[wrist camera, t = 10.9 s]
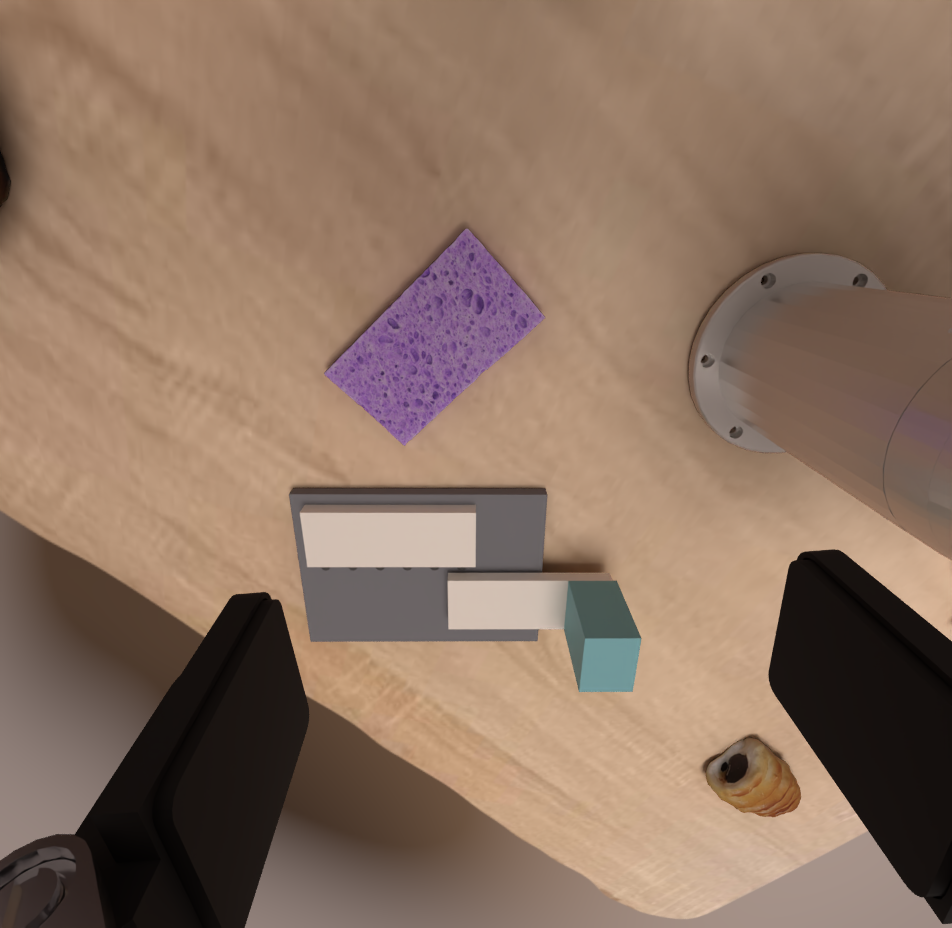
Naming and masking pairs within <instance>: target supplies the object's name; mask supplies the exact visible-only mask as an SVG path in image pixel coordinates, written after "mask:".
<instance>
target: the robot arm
mask: <svg viewBox="0 0 952 928" xmlns="http://www.w3.org/2000/svg"><path fill="white" fill-rule="evenodd" d="M763 276H764V281H763V283H762V284H761V279H762V277H763ZM704 355H705V356H706V358H705V360H704V361H701V359H702V357H703V356H704ZM689 385H690V391H691V396H692V399H693V402H694V404H695V406H696V409H697V411H698V413H699V414H700V416H701V417H702V419H703V420H704V421H705V423H706V424H707V425H708V426H709V427H710V428H711V429H712V430H713V431H714V432H716V433H717V434H718V435H719V436H720V437H722V438H723V439H725V440H726V441H727V442H729V443H731V444H733V445H735V446H738V447H740V448H743V449H745V450H749V451H755V452H760V453H783V452H788V453H789V454H791V455H792V456H794V457H795V458H797V459H798V460H800V461H801V462H803V463H804V464H806V465H807V466H809V467H810V468H812V469H813V470H815V471H816V472H818V473H819V474H821V475H822V476H824V477H825V478H827V479H828V480H830V481H831V482H833V483H834V484H835V485H837V486H838V487H840V488H841V489H843V490H844V491H846V492H847V493H849V494H850V495H852V496H853V497H855V498H856V499H858V500H859V501H861V502H862V503H864V504H865V505H867V506H868V507H870V508H871V509H873V510H874V511H876V512H877V513H879V514H880V515H881V516H883V517H884V518H886V519H887V520H889V521H891V522H892V523H893V524H895V525H896V526H898V527H899V528H901V529H903V530H904V531H906V532H907V533H909V534H910V535H912V536H913V537H915V538H917V539H918V540H920V541H921V542H923V543H924V544H926V545H927V546H929V547H930V548H932V549H933V550H935V551H936V552H938V553H939V554H941V555H943V556H945V557H946V558H948V559H950V560H952V298H946V297H938V296H930V295H921V294H913V293H905V292H897V291H889V290H887V289H886V287H885V285H884V284H883V283H882V282H881V281H880V279H879V278H878V277H877V276H876V275H875V274H874V273H873V272H872V271H871V270H869V269H868V268H866V267H865V266H863V265H862V264H860V263H859V262H857V261H854V260H851V259H848V258H845V257H843V256H840V255H831V254H822V253H801V254H796V255H791V256H786V257H781V258H779V259H776V260H773V261H771V262H768V263H766V264H763V265H761V266H759V267H757V268H756V269H754V270H752V271H751V272H749V273H747V274H746V275H744V276H743V277H741V278H740V279H739V280H738V281H737V282H735V283H734V284H733V285H732V286H731V287H729V288H728V289H727V290H726V291H725V292H724V293H723V294H722V296H721V297H720V298H719V299H718V300H717V301H716V303H715V304H714V305H713V306H712V307H711V309H710V310H709V312H708V314H707V315H706V317H705V319H704V320H703V322H702V323H701V325H700V328H699V330H698V333H697V335H696V337H695V340H694V342H693V346H692V351H691V355H690V360H689ZM732 428H733V429H732ZM731 429H732V430H731ZM730 430H731V431H730ZM769 682H770V686H771V688H772V691H773V692H774V694H775V696H776V697H777V699H778V700H779V701H780V703H781V704H782V706H783V707H784V709H785V710H786V712H787V713H788V715H789V716H790V717H791V719H792V720H793V722H794V723H795V725H796V726H797V728H798V729H799V731H800V732H801V733H802V735H803V736H804V738H805V739H806V741H807V742H808V744H809V745H810V747H811V748H812V749H813V751H814V752H815V754H816V755H817V757H818V758H819V760H820V761H821V763H822V764H823V765H824V767H825V768H826V770H827V771H828V773H829V774H830V776H831V777H832V779H833V780H834V781H835V783H836V784H837V786H838V787H839V789H840V790H841V792H842V793H843V795H844V796H845V797H846V799H847V800H848V802H849V803H850V805H851V806H852V808H853V809H854V811H855V812H856V813H857V815H858V816H859V818H860V819H861V821H862V822H863V824H864V825H865V827H866V828H867V829H868V831H869V832H870V834H871V835H872V836H873V838H874V840H875V841H876V842H877V844H878V845H879V847H880V848H881V850H882V851H883V853H884V854H885V855H886V857H887V858H888V860H889V861H890V863H891V864H892V866H893V867H894V868H895V870H896V872H897V873H898V874H899V876H900V877H901V879H902V880H903V882H904V883H905V884H906V885H907V887H908V888H909V889H910V890H911V891H912V892H913V893H914V894H915V895H917V896H919V897H924V898H925V899H926V901H927V903H928V904H929V905H930V907H931V908H932V909H933V911H934V913H935V914H936V915H937V917H938V918H939V920H940V921H941V923H942V924H950V923H952V641H951V640H949V639H948V638H947V637H946V636H944V635H943V634H942V633H941V632H940V631H938V630H937V629H936V628H935V627H933V626H932V625H931V624H930V623H929V622H927V621H926V620H925V619H924V618H922V617H921V616H920V615H919V614H918V613H916V612H915V611H914V610H913V609H912V608H910V607H909V606H908V605H907V604H905V603H904V602H903V601H902V600H901V599H899V598H898V597H897V596H896V595H894V594H893V593H892V592H891V591H890V590H888V589H887V588H886V587H885V586H883V585H882V584H881V583H880V582H879V581H877V580H876V579H875V578H874V577H873V576H871V575H870V574H869V573H868V572H866V571H865V570H864V569H863V568H862V567H860V566H859V565H858V564H857V563H855V562H854V561H853V560H852V559H851V558H849V557H848V556H847V555H846V554H844V553H843V552H841V551H840V550H821V551H808V552H803V553H801V554H800V555H799V556H798V558H797V560H796V561H793V562H791V564H790V566H789V569H788V574H787V579H786V584H785V590H784V595H783V600H782V605H781V610H780V616H779V621H778V626H777V631H776V636H775V641H774V647H773V652H772V657H771V662H770V667H769ZM308 722H309V707H308V703H307V699H306V695H305V691H304V688H303V684H302V680H301V676H300V673H299V669H298V665H297V661H296V658H295V654H294V650H293V647H292V643H291V639H290V635H289V632H288V628H287V624H286V620H285V617H284V613H283V609H282V606H281V603H280V601H279V600H277V599H275V600H272V599H271V597H270V595H269V594H268V593H266V592H261V593H248V594H236V595H233V596H232V597H231V598H230V599H229V601H228V602H227V604H226V606H225V607H224V609H223V610H222V612H221V613H220V615H219V616H218V618H217V619H216V621H215V623H214V624H213V626H212V627H211V629H210V630H209V632H208V633H207V635H206V637H205V638H204V640H203V641H202V643H201V644H200V646H199V647H198V649H197V651H196V652H195V654H194V655H193V657H192V658H191V660H190V661H189V663H188V665H187V666H186V668H185V669H184V671H183V672H182V674H181V675H180V676H179V677H178V678H177V680H176V681H175V682H174V683H173V684H172V686H171V687H170V689H169V690H168V692H167V693H166V695H165V696H164V698H163V700H162V701H161V702H160V704H159V706H158V707H157V709H156V710H155V712H154V713H153V715H152V716H151V718H150V719H149V721H148V723H147V724H146V726H145V727H144V729H143V730H142V732H141V733H140V735H139V736H138V738H137V739H136V741H135V742H134V744H133V746H132V747H131V749H130V750H129V752H128V753H127V755H126V756H125V758H124V759H123V761H122V762H121V764H120V766H119V767H118V769H117V770H116V772H115V773H114V775H113V776H112V778H111V779H110V781H109V783H108V784H107V786H106V787H105V789H104V790H103V792H102V793H101V795H100V796H99V798H98V799H97V801H96V803H95V804H94V806H93V807H92V809H91V810H90V812H89V813H88V815H87V816H86V818H85V819H84V821H83V822H82V824H81V826H80V827H79V829H78V830H77V832H76V834H75V835H74V834H56V835H52V836H48V837H45V838H41V839H37V840H35V841H33V842H31V843H29V844H27V845H25V846H23V847H21V848H19V849H17V850H15V851H13V852H12V853H11V854H9V855H8V856H6V857H5V858H3V859H2V860H0V928H245V924H246V921H247V918H248V915H249V912H250V909H251V905H252V902H253V899H254V896H255V893H256V889H257V886H258V883H259V880H260V877H261V874H262V870H263V867H264V864H265V861H266V858H267V855H268V851H269V848H270V845H271V842H272V839H273V835H274V832H275V829H276V826H277V823H278V820H279V817H280V813H281V810H282V807H283V804H284V801H285V798H286V794H287V791H288V788H289V784H290V782H291V778H292V775H293V772H294V769H295V766H296V762H297V760H298V756H299V753H300V750H301V747H302V744H303V741H304V737H305V734H306V731H307V727H308Z"/></svg>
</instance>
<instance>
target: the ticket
mask: <svg viewBox="0 0 952 928" xmlns="http://www.w3.org/2000/svg"><path fill="white" fill-rule="evenodd" d="M300 518H301V525H302V533H303V540H304V547H305V554H306V561H307V567H321V568H322V569H323V570H325V571H327V570H329V569H330V567H348V568H349V569H350V570H353V571H354V570H356V569H357V568H358V567H376V569H377V570H380V571H381V570H383V569H384V568H385V567H403V569H404V570H407V571H408V570H411V569H412V567H430V569H431V570H434V571H435V570H438V569H439V567H457V568H458V569H459V570H465V569H466V567H476V505H304V507H303V508H302V510H301V512H300Z"/></svg>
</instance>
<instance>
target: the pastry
mask: <svg viewBox="0 0 952 928" xmlns="http://www.w3.org/2000/svg"><path fill="white" fill-rule="evenodd" d="M706 779H707V783H708V785H709V786H711V788H712V790H713V791H714V792H716V794H717V795H718V796H719V797H720V798H721V800H723V801H726V802H727V803H729V804H731V805H732V806H734V807H735V808H736V809H739V810H740V811H741V812H743V813H745V812H752V813H755V814H757V815H759V816H763V817H766V816H771V817H776V816H778V815H781V814H785V813H786V812H792V811H793V810H795V809H796V808H797V807H798V804H799V802H800V800H801V792H800V787H799V785H798V784H797V780H796V778H795V777H794V775H793V774H792V773H791V770H790V767H789V765H788V764H787V763H786V762H785V761H783V760H781V759H779V758H778V757H776V756H775V755H774V754H773V752H772V751H771V750H770V749H769V748H768V747H767V746H765V745H764V744H763V743H761V742H760V741H759V740H757V739H755V738H746V739H744V740H740V741H738V742H736V743H734V744H733V745H732V746H731V747H730V748H728V749H727V750H726V751H725V752H724V753H723V754H722V755H721V756H719V757H717V758H716V759H715V760H713V761H712V762H711V763H710V764H709V765H708V768H707V770H706Z"/></svg>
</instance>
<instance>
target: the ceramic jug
mask: <svg viewBox="0 0 952 928" xmlns="http://www.w3.org/2000/svg"><path fill="white" fill-rule="evenodd" d="M10 183H11V181H10V178H9V176H8V174H7V171H6V167H5V163H4V159H3V157H2V154H1V152H0V206H1V205H2V203H3V202H5V201H6V200H7V197H8V193H9V188H10Z"/></svg>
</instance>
